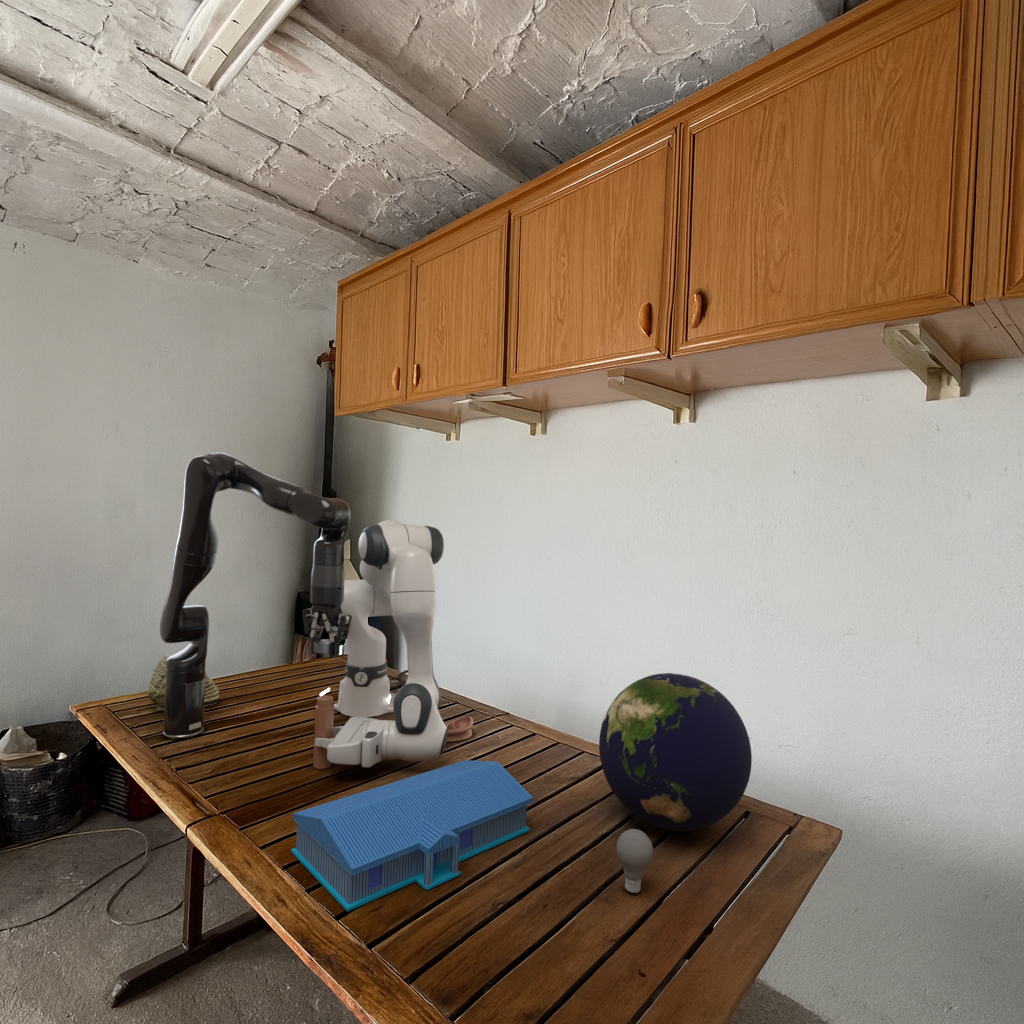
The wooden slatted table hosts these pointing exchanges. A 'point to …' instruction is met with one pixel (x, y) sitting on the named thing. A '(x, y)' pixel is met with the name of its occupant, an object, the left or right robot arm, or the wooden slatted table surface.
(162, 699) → the fossil
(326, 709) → the brown cylinder
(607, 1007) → the wooden slatted table surface
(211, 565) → the left robot arm
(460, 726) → the anatomical model
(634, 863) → the light bulb
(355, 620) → the right robot arm
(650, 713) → the globe
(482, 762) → the model building
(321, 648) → the lid
